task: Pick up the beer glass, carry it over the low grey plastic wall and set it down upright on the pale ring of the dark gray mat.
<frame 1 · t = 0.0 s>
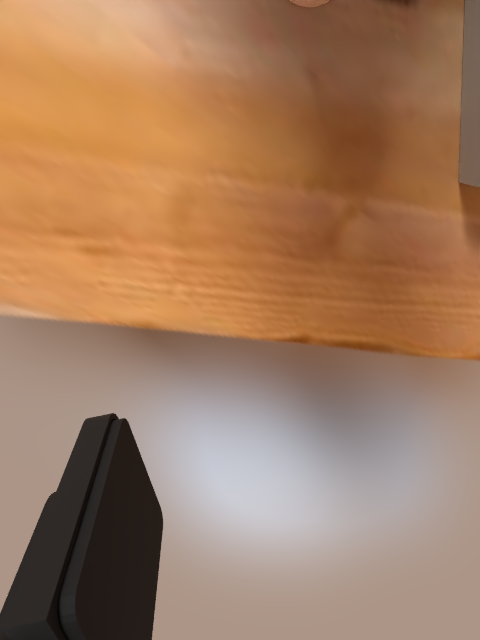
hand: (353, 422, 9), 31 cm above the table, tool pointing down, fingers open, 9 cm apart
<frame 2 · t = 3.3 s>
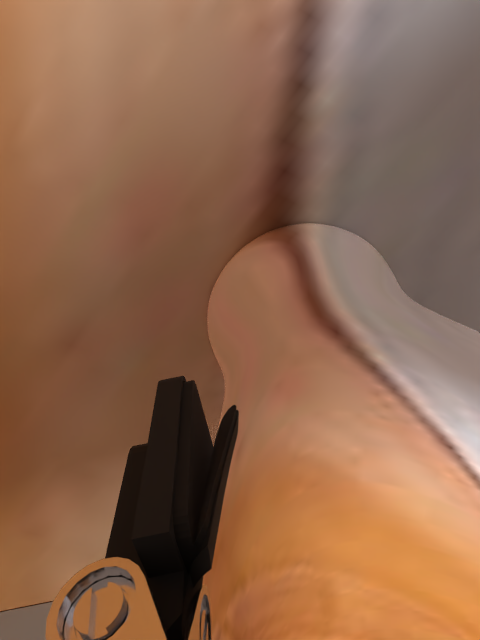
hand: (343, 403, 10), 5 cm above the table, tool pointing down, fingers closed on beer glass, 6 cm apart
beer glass: (300, 313, 14), on the table, touching gripper
low wall: (246, 575, 19), on the table
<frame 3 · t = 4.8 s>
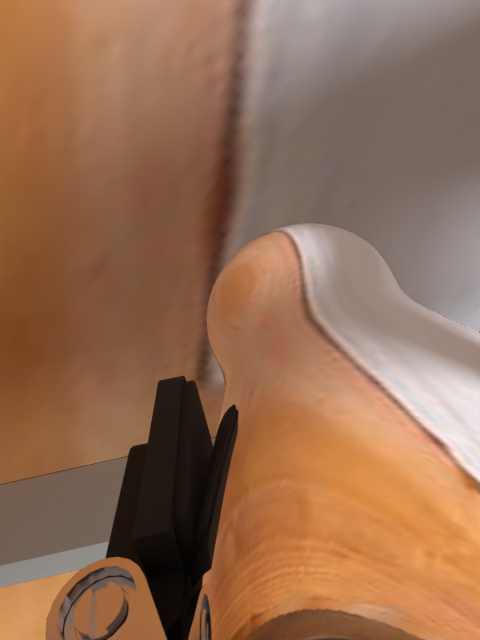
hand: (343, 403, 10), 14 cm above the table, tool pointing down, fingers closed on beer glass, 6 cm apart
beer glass: (300, 313, 14), point 9 cm above the table, touching gripper
low wall: (216, 446, 27), on the table
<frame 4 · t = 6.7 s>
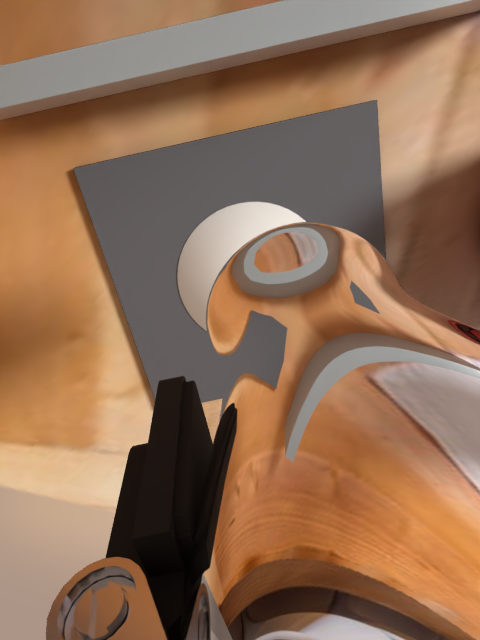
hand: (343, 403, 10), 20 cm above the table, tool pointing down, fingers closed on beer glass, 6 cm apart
dark gray mat: (251, 274, 29), on the table
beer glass: (299, 312, 14), point 15 cm above the table, touching gripper
low wall: (243, 48, 24), on the table
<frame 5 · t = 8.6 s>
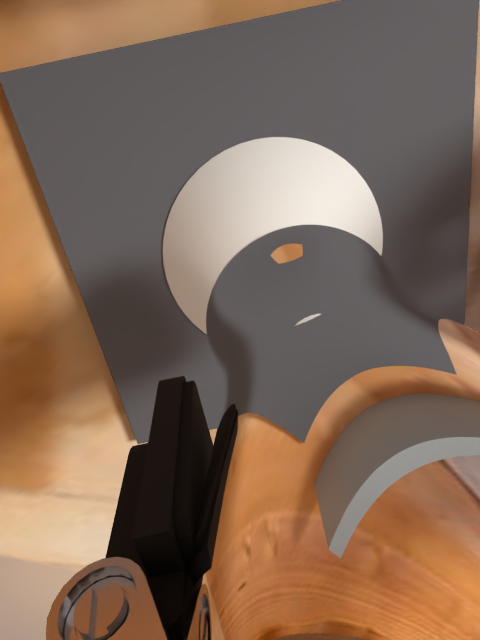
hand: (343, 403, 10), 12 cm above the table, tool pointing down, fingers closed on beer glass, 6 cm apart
dark gray mat: (272, 252, 20), on the table
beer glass: (299, 314, 14), point 7 cm above the table, touching gripper
when the fingers open (6 cm above the table, at t = 10.1 s): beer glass drops 1 cm, resting on dark gray mat.
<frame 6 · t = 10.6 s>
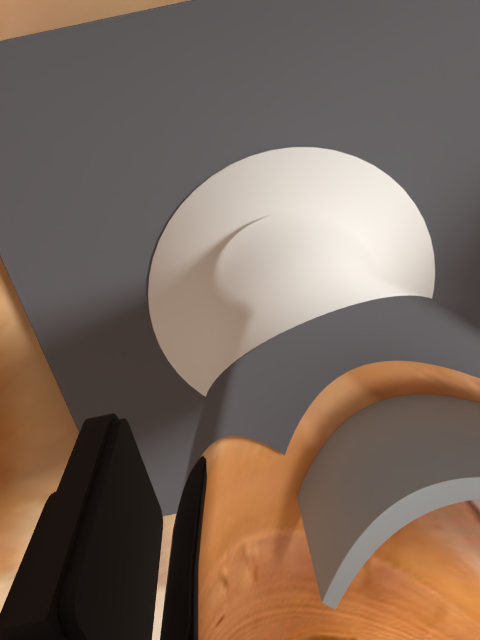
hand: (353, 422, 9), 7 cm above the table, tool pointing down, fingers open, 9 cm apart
dark gray mat: (290, 293, 16), on the table
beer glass: (289, 296, 15), point 1 cm above the table, touching dark gray mat
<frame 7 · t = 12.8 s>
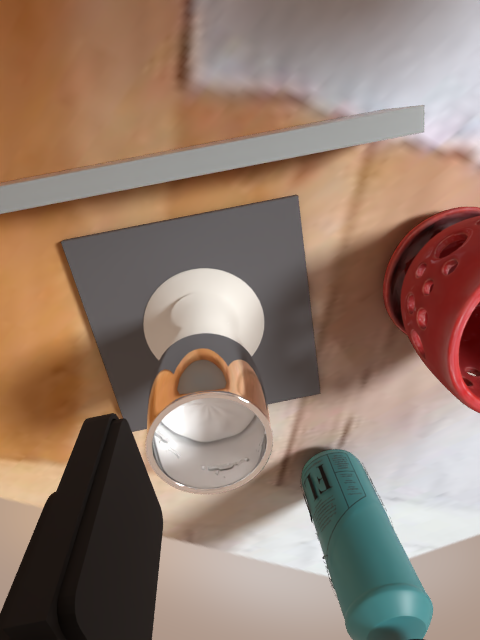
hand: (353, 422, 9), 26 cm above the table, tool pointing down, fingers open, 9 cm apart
plant pot: (444, 274, 37), on the table
dark gray mat: (204, 323, 36), on the table
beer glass: (203, 324, 36), point 1 cm above the table, touching dark gray mat
beverage bottle: (326, 461, 44), on the table
low wall: (194, 156, 31), on the table
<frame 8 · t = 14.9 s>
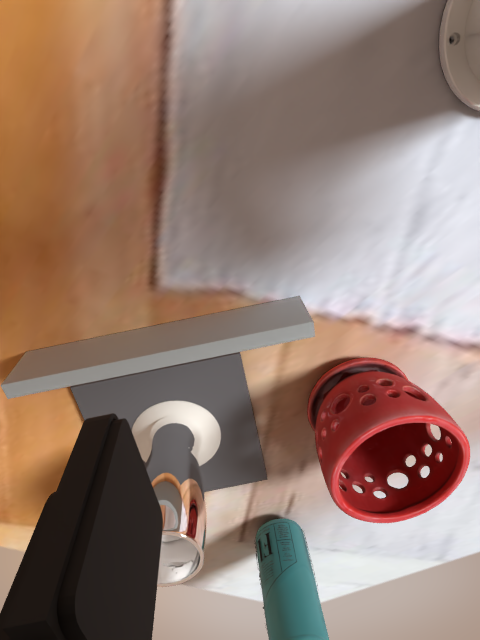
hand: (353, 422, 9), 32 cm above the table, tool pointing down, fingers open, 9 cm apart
plant pot: (357, 395, 49), on the table
dark gray mat: (176, 433, 49), on the table
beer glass: (175, 435, 49), point 1 cm above the table, touching dark gray mat
beverage bottle: (277, 524, 57), on the table
low wall: (164, 330, 43), on the table
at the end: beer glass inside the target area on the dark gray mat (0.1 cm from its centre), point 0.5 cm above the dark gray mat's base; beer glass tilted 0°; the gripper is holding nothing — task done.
